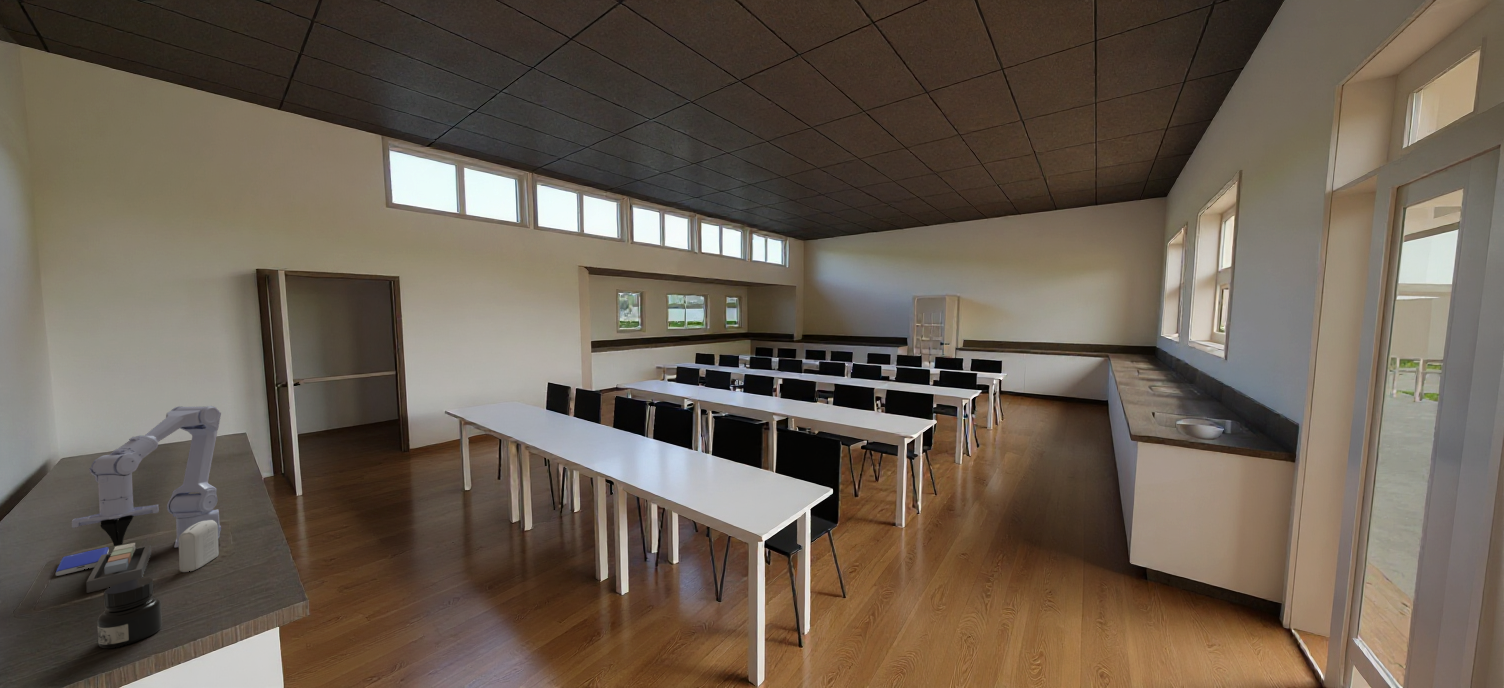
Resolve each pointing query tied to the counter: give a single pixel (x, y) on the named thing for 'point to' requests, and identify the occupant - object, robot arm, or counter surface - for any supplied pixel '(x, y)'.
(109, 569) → the slate key
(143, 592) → the ink bottle
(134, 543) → the cream key
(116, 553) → the sage key
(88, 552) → the hard drive
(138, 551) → the dark grey tray
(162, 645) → the counter surface
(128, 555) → the terracotta key
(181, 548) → the photo printer
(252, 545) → the counter surface
